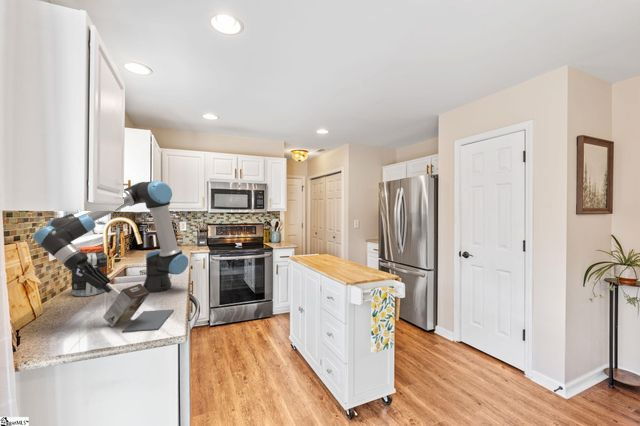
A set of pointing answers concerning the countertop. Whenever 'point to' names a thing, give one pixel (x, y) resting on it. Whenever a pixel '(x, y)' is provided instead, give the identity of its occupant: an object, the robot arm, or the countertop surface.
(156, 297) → the countertop surface
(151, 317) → the mat
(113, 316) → the coffee box
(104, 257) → the supplement tub
